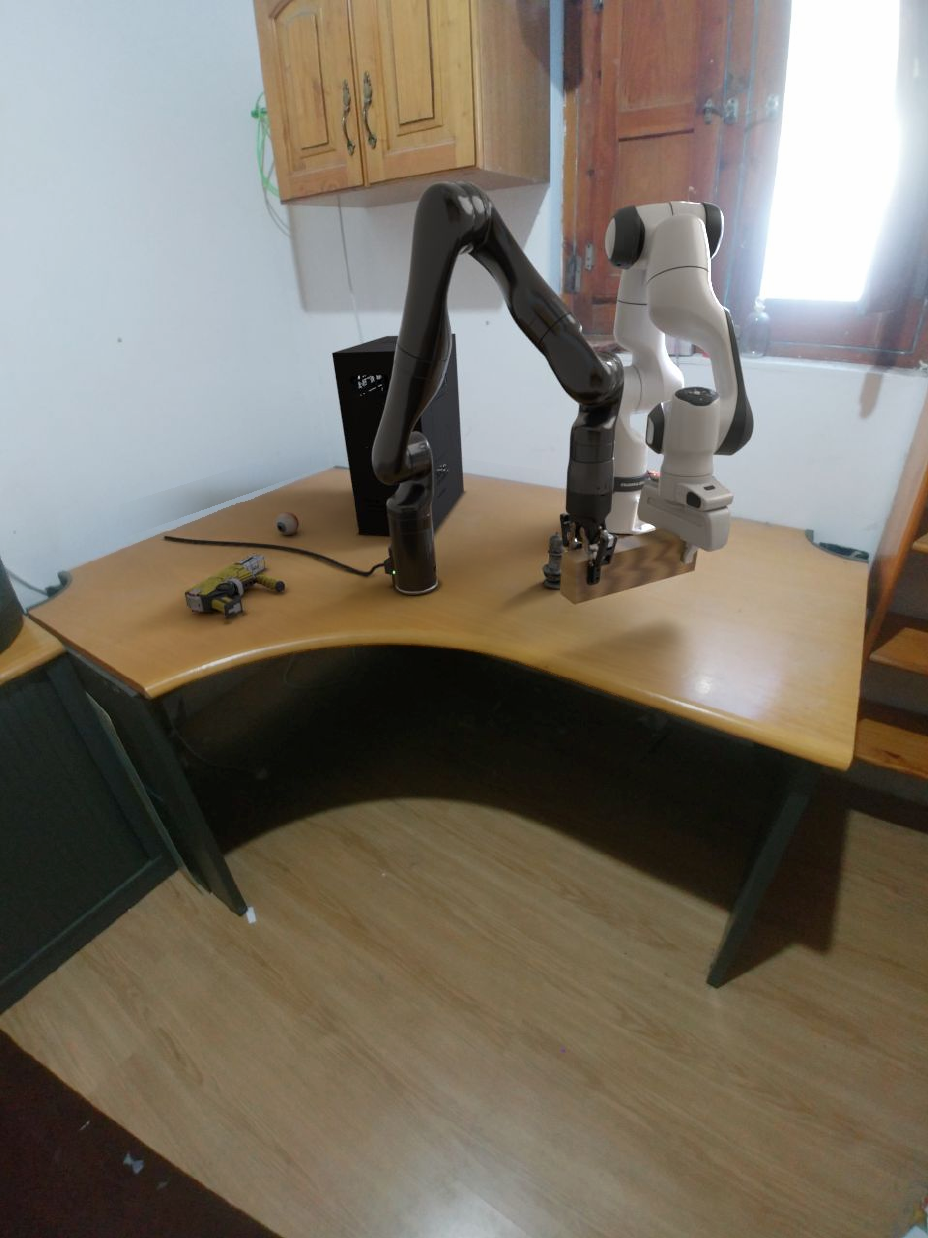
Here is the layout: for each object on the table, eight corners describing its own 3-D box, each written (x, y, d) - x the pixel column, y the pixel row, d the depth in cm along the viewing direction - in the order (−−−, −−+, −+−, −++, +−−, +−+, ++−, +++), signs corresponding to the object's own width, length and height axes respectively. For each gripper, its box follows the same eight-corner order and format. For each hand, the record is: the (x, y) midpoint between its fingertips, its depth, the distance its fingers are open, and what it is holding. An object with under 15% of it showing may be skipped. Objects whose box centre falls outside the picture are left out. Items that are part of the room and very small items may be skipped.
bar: (677, 561, 119) (682, 522, 115) (694, 570, 115) (701, 531, 111) (560, 593, 110) (561, 553, 106) (574, 604, 106) (576, 562, 102)
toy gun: (306, 561, 141) (251, 550, 144) (240, 606, 120) (179, 591, 124) (307, 580, 143) (253, 568, 147) (243, 626, 123) (183, 611, 127)
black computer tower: (431, 537, 158) (415, 350, 135) (358, 534, 162) (332, 352, 140) (463, 491, 189) (455, 333, 167) (402, 489, 194) (386, 335, 171)
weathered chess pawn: (568, 589, 128) (570, 537, 122) (540, 588, 130) (541, 536, 124) (569, 577, 133) (571, 526, 127) (542, 576, 134) (543, 525, 128)
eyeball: (273, 537, 164) (268, 516, 161) (287, 528, 169) (282, 508, 166) (291, 539, 161) (286, 518, 158) (305, 530, 166) (301, 510, 163)
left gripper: (546, 477, 103) (545, 567, 112) (596, 501, 92) (590, 599, 100) (583, 470, 106) (579, 559, 114) (636, 492, 94) (626, 589, 103)
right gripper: (632, 474, 115) (626, 541, 122) (712, 504, 99) (700, 580, 105) (659, 468, 117) (651, 535, 124) (741, 497, 101) (727, 572, 108)
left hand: (584, 577), depth 107 cm, fingers closed on bar, 4 cm apart
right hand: (674, 556), depth 115 cm, fingers closed on bar, 5 cm apart
